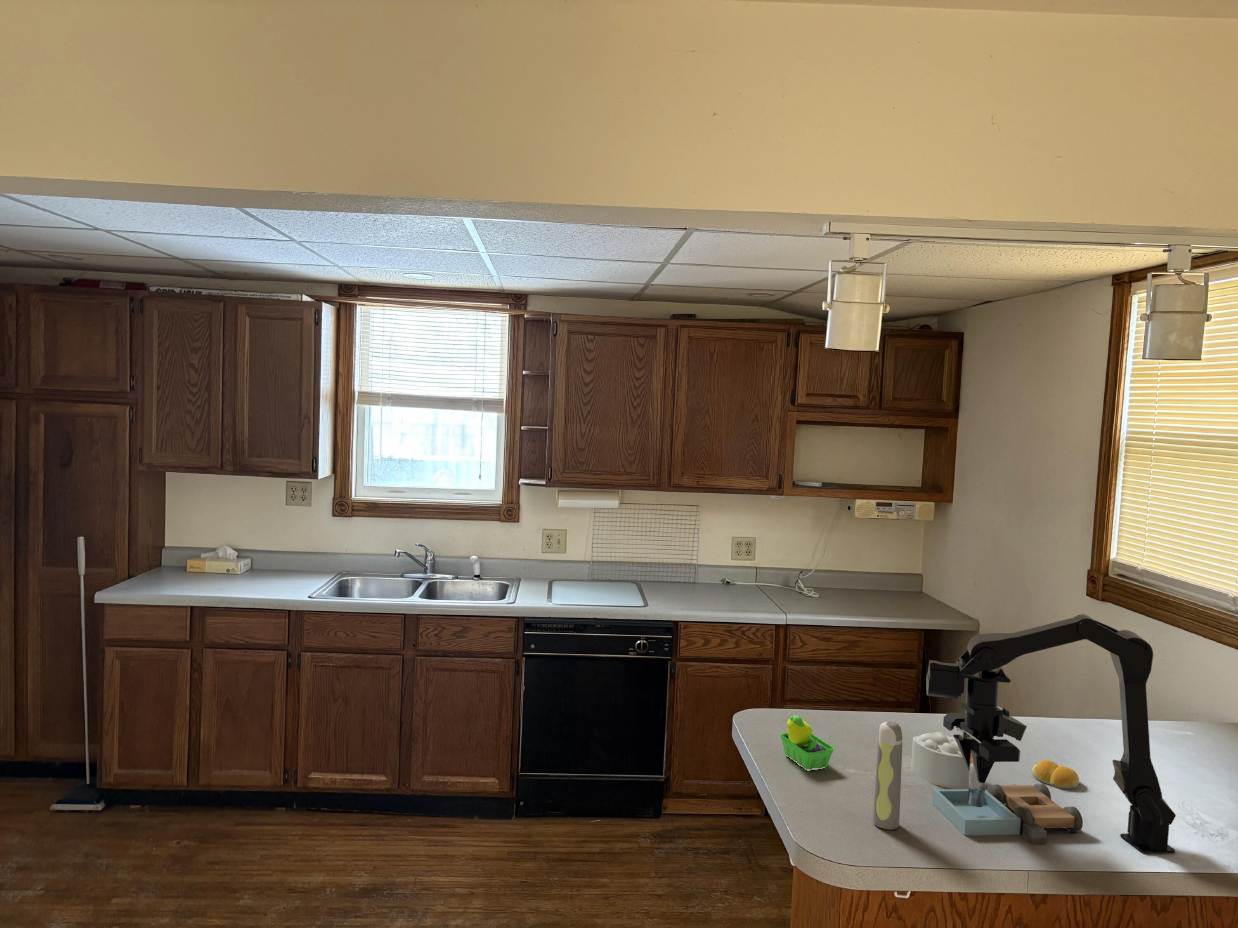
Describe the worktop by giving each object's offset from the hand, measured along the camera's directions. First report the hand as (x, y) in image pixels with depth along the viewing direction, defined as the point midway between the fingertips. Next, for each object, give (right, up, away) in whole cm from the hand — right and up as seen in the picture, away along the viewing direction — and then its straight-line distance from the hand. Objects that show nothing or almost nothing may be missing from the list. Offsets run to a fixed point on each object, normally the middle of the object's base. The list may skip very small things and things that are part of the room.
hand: (977, 778), depth 166 cm
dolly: (+11, -8, 0) cm, 14 cm away
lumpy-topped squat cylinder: (+1, -7, +20) cm, 21 cm away
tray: (0, -8, 0) cm, 8 cm away
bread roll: (+26, -8, +20) cm, 34 cm away
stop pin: (0, -5, 0) cm, 5 cm away
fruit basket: (-29, -6, +25) cm, 38 cm away
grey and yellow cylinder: (-19, -8, -3) cm, 21 cm away
